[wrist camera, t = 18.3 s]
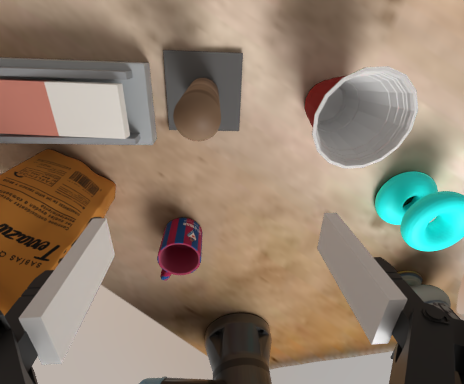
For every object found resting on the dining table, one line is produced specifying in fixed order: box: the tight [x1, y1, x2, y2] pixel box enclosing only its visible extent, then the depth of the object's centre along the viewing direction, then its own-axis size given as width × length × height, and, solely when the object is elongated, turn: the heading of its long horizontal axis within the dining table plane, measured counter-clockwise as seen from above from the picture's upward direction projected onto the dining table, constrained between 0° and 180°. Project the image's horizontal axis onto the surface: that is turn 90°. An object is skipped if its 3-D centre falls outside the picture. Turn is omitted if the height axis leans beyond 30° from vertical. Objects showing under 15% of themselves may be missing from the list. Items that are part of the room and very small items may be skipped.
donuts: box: [375, 171, 464, 251], centre depth 42 cm, size 10×10×10 cm
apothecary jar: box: [397, 271, 461, 320], centre depth 49 cm, size 12×12×18 cm
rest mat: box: [163, 50, 243, 131], centre depth 36 cm, size 10×10×1 cm
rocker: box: [0, 78, 130, 139], centre depth 31 cm, size 16×6×1 cm, turn 88°
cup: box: [157, 218, 202, 281], centre depth 44 cm, size 7×10×7 cm
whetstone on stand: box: [0, 57, 157, 145], centre depth 33 cm, size 10×20×6 cm, turn 88°
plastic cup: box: [305, 66, 418, 168], centre depth 32 cm, size 11×11×12 cm
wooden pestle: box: [173, 77, 221, 141], centre depth 29 cm, size 4×4×15 cm
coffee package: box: [0, 149, 116, 316], centre depth 31 cm, size 10×12×22 cm
